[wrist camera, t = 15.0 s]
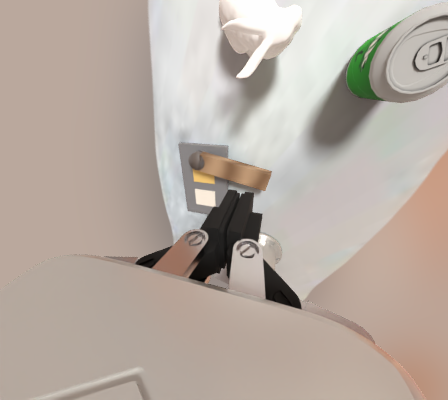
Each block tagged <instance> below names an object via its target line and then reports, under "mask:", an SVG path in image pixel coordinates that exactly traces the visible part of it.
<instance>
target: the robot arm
mask: <svg viewBox="0 0 448 400" xmlns="http://www.w3.org/2000/svg"><path fill="white" fill-rule="evenodd" d="M253 198H254V193H251V192H245V194H243V193H242V194H241V197H240V193H237V191H236V190H228V191H227V193H226V195H225V197H224V198H223V200H222V202H221V204H220V206H219V207H215V206H214V207H213V208H212V210H211V212H210V213H209V215H208V217H207V218H206V220H205V222H204V223H203V225H202V227H201V228H200V229H193V230H190V231H188V232H186V233H185V234H184V235H183V236H182V237H181V238H180V239H179V240H178V241H177V242H176V243H175V244H174V245H173V246H171V247H168V248H165V249H163V250H160V251H157V252H154V253H152V254H149V255H146V256H144V257H142V258H140V259H138V257H107V256H106V257H101V256H94V255H66V256H59V257H55V258H51V259H48V260H46V261H43V262H42V263H40V264H38V265H36V266H35V267H33V268H32V269H30V270H28V271H26V272H25V273H23V274H22V275H21V276H19V277H18V278H16V279H15V280H13V281H12V282H10V283H9V284H7V285H6V286H4V287H3V288H2V289H0V400H426V398H425V397H424V395H423V393H422V392H421V390H420V389H419V387H418V386H417V384H416V383H415V381H414V380H413V379H412V377H411V376H410V375H409V374H408V372H407V371H406V370H405V369H404V368H403V367H402V366H401V365H400V364H399V363H398V362H397V361H396V360H395V359H394V358H393V357H391V356H390V355H389V354H388V353H387V352H385V351H384V350H382V349H381V348H380V347H379V346H377V345H376V344H375V342H374V340H373V338H372V337H371V335H370V334H369V333H368V332H367V331H366V330H365V329H364V328H362V327H361V326H359V325H358V324H356V323H354V322H352V321H350V320H348V319H345V318H343V317H341V316H339V315H337V314H335V313H333V312H330V311H328V310H326V309H324V308H322V307H320V306H318V305H316V304H313V303H311V302H309V301H307V303H306V302H304V301H302V300H299V298H298V296H297V295H296V294H295V292H294V291H293V290H292V289H291V288H290V287H289V286H288V285H287V284H286V283H285V282H284V280H283V279H282V278H281V277H280V276H279V275H278V274H277V273H276V272H275V264H277V263H278V262H279V261H280V259H281V256H282V249H281V246H280V245H279V243H278V242H277V241H276V240H275V239H274V238H272V237H271V236H269V235H266V234H263V233H260V228H261V221H262V214H260V213H253V212H252V208H253ZM226 263H227V276H228V278H229V288H228V289H226V288H222V287H218V286H215V285H211V284H208V283H209V281H210V279H211V275H212V274H214V273H219V274H220V271H221V268H223V269H224V268H225V266H226Z"/></svg>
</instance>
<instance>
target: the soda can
mask: <svg viewBox="0 0 448 400" xmlns="http://www.w3.org/2000/svg"><path fill="white" fill-rule="evenodd" d="M447 83H448V3H443V2H442V3H439V4H435V5H432V6H429V7H425V8H423V9H421V10H419V11H417V12H416V13H414V14H412V15H410V16H409V17H407V18H405V19H403V20H402V21H400V22H398V23H396V24H395V25H393V26H391V27H390V28H388V29H386V30H384V31H383V32H381V33H379V34H377V35H376V36H374V37H372V38H371V39H369V40H367V41H366V42H365V43H364V44H363V45H362V46H361V47H360V48H358V49H357V51H356V52H355V54H354V55H353V57H352V58H351V60H350V62H349V65H348V67H347V70H346V84H347V88H348V89H349V90H350V92H351V93H352V94H354V95H355V96H357V97H360V98H367V99H374V100H382V101H389V102H397V103H404V102H410V101H416V100H418V99H421V98H423V97H425V96H428V95H430V94H432V93H434V92H435V91H437V90H438V89H440V88H441V87H443V86H444V85H446V84H447Z"/></svg>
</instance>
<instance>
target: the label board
mask: <svg viewBox="0 0 448 400" xmlns="http://www.w3.org/2000/svg"><path fill="white" fill-rule="evenodd" d="M196 151H203V152H207V153H210V154H214V155H217V156H221V157H224V158H228V146H224V145H210V144H196V143H182V142H181V143H179V152H180V159H181V166H182V173H183V180H184V187H185V194H186V202H187V209H188V211H193V212H199V213H204V214H209V213H210V212H211V210H212V208H213V207H214V206H215V207H219V206H220V204H221V202H222V200H223V198H224V197H225V195H226V193H227V191H228V180H227V179H224V178H220V177H217V176H214V175H211V174H207V173H204V172H201V171H198V170H195V169H193V168H192V167H191V166H190V165H189V161H188V159H189V156H190V155H191V154H193V153H194V152H196Z"/></svg>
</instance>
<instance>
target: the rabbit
mask: <svg viewBox="0 0 448 400" xmlns="http://www.w3.org/2000/svg"><path fill="white" fill-rule="evenodd" d="M219 15H220V19H221V23H222V26H223V27H222V28H221V30H224V32H225V34H226V37H227V39H228V40H229V43H230V45H231V46H232V47H233V49H234V50H235V51H236V52H237V53H239V54H244V53H245V52H246V53H247V54H248V55H249V57H250V59H249V60H248V62H247V64H246V65H245V67H244V68H243V69H242V71H241V72H240V73H239V74H238V75H237V76H236V78H238V79H239V78H240V79H241V78H248V77H249V76H250V75H251V74H252V73H253V72H254V71H255V69H256V68H257V67H258V65H259V63H260V62H261V60H262V59H271V58H274V57H276V56H278V55H279V54H280V53H281V52H282V51H283V50H284V49H285V48H286V47H287V46H288V45H289V44H290V43H291V41H292V39H293V37H294V35H295V34H296V32H297V31H298V30H299V29H300V27H301V23H302V10H301V8H300V7H299V6H297V5H291V6H290V7H288V8H279V7H278V6H277V4H276V2H275V1H274V0H220V1H219Z"/></svg>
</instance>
